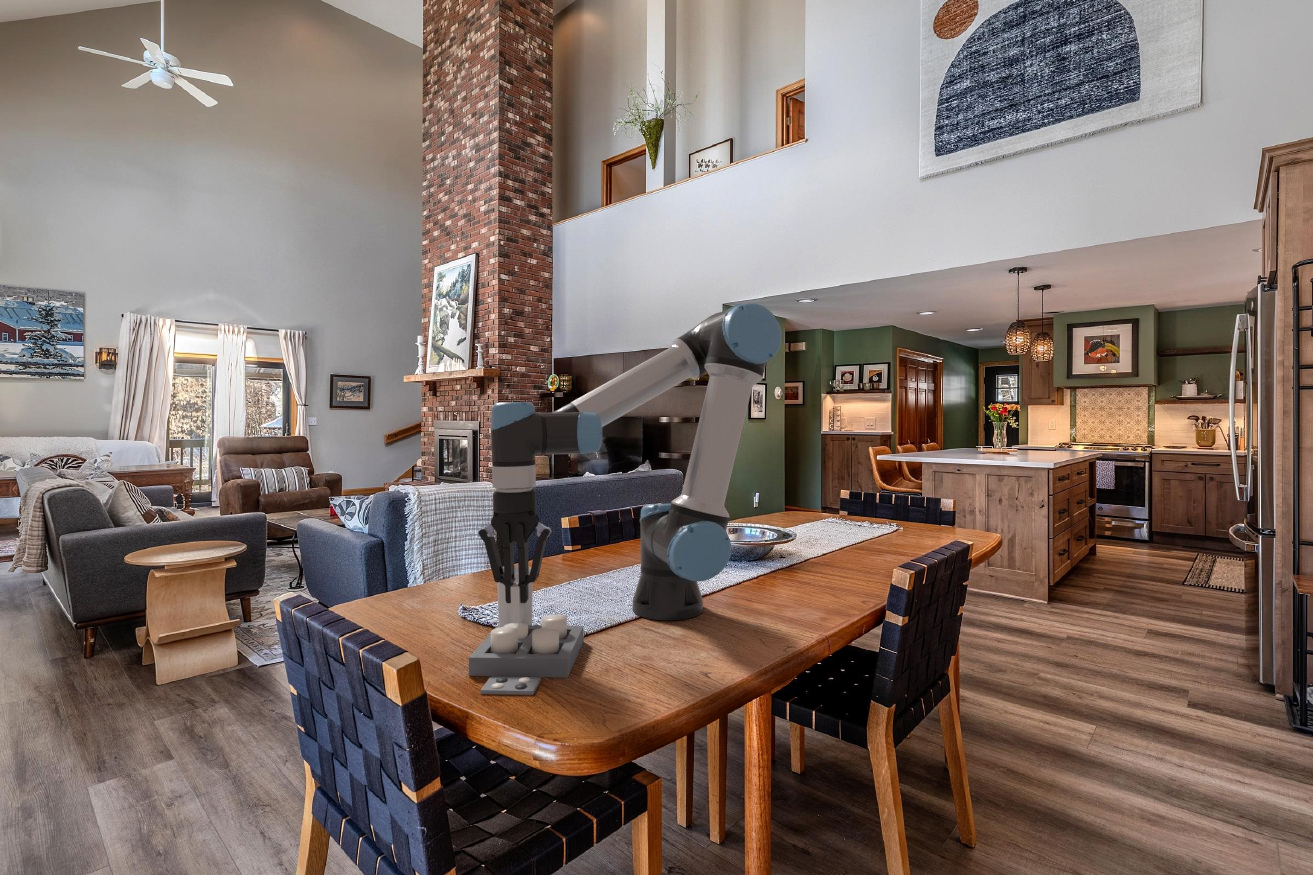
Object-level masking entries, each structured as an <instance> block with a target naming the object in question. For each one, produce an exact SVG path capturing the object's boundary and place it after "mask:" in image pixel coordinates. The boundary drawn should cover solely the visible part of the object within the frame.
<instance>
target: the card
mask: <svg viewBox="0 0 1313 875" xmlns="http://www.w3.org/2000/svg"><path fill="white" fill-rule="evenodd" d="M541 678H542V677H505V676H489V678H488V679H487V681H485V683H484V685H483V686H482V687H481V689H480V695H509V696H510V695H515V696H516V695H517V696H519V695H521V696H533V695H534V694H535V692H536V691H537V689H538V687H539V685H540V683H541V681H542V679H541Z"/></svg>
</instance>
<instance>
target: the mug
mask: <svg viewBox="0 0 1313 875" xmlns="http://www.w3.org/2000/svg"><path fill="white" fill-rule="evenodd" d="M502 567H503V571H504V566H502ZM530 571H531V566H529V575H530ZM514 573H515V578H516V579H515V581H514V583H519V571H518V565H514ZM496 584H497V611H498V612H497V613H498V625H507V624H510V623H511V603H506V600H505V585H504V584H502V583H500V582H498V583H497V582H496ZM533 584H534V582H531V583H529V584H528V591H529V592H528V593H529V599H528V601H527V602H526V603H523V610H524V619H523V620H522V621H521V622H520V623H525V624H527V625H533Z"/></svg>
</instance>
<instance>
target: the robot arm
mask: <svg viewBox="0 0 1313 875" xmlns="http://www.w3.org/2000/svg"><path fill="white" fill-rule="evenodd" d="M781 344H782V329H781V325H780V323H779V321H778V319H777V318H776V316H775V314H774V313H773V312H772V311H771V310H770V309H768V308H767V307H765V306H764V305H762V304H759V303H754V302H747V303H739V304H734V305H733V306H731V307H730V308H728V309H726V310H722V311H720V312H717V313H714V314H712V315H709V316H708V317H706V319H704V320H702V321H701V322H699V323H698V324H697V325H695V326H694V327H692V328H691V329H690V330H688V331H687V332H685V333H684V334H681V336H679V337H677V338H675V339H673V341H672V343H671V346H670V347H669V348H667V349H665V350H663V351H661V352H659V353H658V354H656V355H654V356H652V357H651V358H649V359H647V360H645V361H643V362H642V363H640V364H638V365H636V366H634V367H633V368H631V369H628V370H627V371H625V372H623V373H622V374H620V375H617V376H616V377H614V378H612V379H611V380H609V381H606V382H605V383H604V384H602V385H599V386H598V387H596V388H594V389H593V390H591V391H589V392H587V393H586V394H584V395H582V396H580V397H579V398H576V399H575V400H573V401H571V402H570V403H568V404H566V405H564V406H562V407H561V408H559V409H557V410H554V411H553V412H548V413H547V412H545V413H544V412H536V410H535V405H534V404H533V402H531V401H526V402H525V401H522V402H521V401H513V402H511V401H508V402H506V401H505V402H496V403H495V404H493V405H492V407H491V413H490V415H491V416H490V421H491V423H490V439H491V440H490V441H491V443H490V444H491V471H492V474H491V477H492V479H491V480H492V481H491V482H492V484H491V486H492V488H493V489H495V490H494V491H493V492H492V512H493V513H492V518H491V520H490V524H487V526H485V527H483V528H480V529H479V530H478V532H477V533H478V536H479V537H480V539H481V540H482V541H483V543H484V547H485V551H486V554H487V558H488V561H489V566H490V568H491V572H492V577H493V580H494V582H495V583H496V584H497V583H498V582H500V583H502V584H504V585H505V600H506V603H511V623H520V622H521V621H522V620H523V619H524V610H523V603H526V602H527V601H528V599H529V593H528V592H529V591H528V584H529V583H531V582H533V583H534V582H536V581H537V579H538V578H539V577H540V572H541V567H542V564H543V563H542V562H543V557H544V553H545V549H546V544H547V539H549V537H550V535H551V534H552V533H553V528H552V526H546V525H545V524H543V523H541V520H540V516H538V514H537V490H535V489H534V487H535V486H537V485H536V484H537V478H536V476H537V475H536V474H537V472H536V471H537V469H536V455H542V456H543V455H573V454H574V455H575V454H577V455H578V454H581V455H584V454H593V453H597V452H599V450H601V447H602V443H603V427H605V426H606V425H608V424H611V423H612V422H614V421H615V420H617V419H619V418H621V417H622V416H624V415H626V414H628V413H629V412H631V411H633V410H635V409H637V408H638V407H640V406H641V405H644V404H645V403H647V402H649V401H650V400H652V399H654V398H656V397H658V396H660V395H661V394H663V393H665V392H667V391H668V390H670V389H672V388H674V387H676V386H677V385H679V384H681V383H683V382H684V381H686V380H688V379H691V380H698V379H699V378H700V377H702V376H704V375H706V374H708V376H709V379H708V383H707V387H706V391H705V396H704V400H703V404H702V407H701V411H700V415H699V420H698V424H697V428H696V432H695V437H694V441H693V445H692V449H691V453H690V456H689V461H688V462H689V463H688V465H687V469H686V474H685V478H684V481H683V482H684V483H683V485H682V486H683V487H682V490H681V493H680V495H678V496H677V497H676V498H674V499H673V500H671V503H656V504H646V505H643V506H642V507H641V509H640V518H639V523H640V576H639V579H638V582H637V585H636V588H635V592H634V594H633V596H632V597H633V598H632V612H633V613H634V614H635V615H637V616H639V617H642V618H645V619H648V620H649V619H650V620H655V621H657V620H658V621H681V620H682V621H683V620H687V619H691V618H695V617H698V616H700V615H701V614H702V613H703V611H704V599H703V597H702V593H701V590H700V587H699V584H698V583H699V582H704V581H706V582H707V581H708V580H711V579H713V578H715V577H716V576H718V575H719V574H720V573H721V572H722V571H723V570H724V569H725V567H726V566H727V565H728V563H729V560H730V558H731V554H732V542H731V538H730V536H729V534H728V533H727V528H728V523H729V520H730V513H729V512H728V510H727V508H726V507H725V504H726V498H727V494H728V490H729V486H730V481H731V477H732V474H733V469H734V465H735V461H736V456H737V452H738V447H739V444H740V440H741V434H742V432H743V427H744V425H745V424H744V423H745V419H746V414H747V410H748V406H749V402H750V397H751V394H752V390H753V387H754V386H755V385H756V384H758V383H759V382H761V381H762V380H763V377H764V373H765V369H766V365H767V362H769V361H770V360H772V359H773V357H775V356H776V354H778V352H779V349H780V347H781ZM535 531H536V536H537V537H538V538H537V540H536V544H535V548H534V554H533V557H532V563H531V566H529V542H530V541H529V539H530V538H531V536H532V535H533V534H534V532H535ZM495 532H496V534H497V535H498V537H499V538H500V539H501V540H502V548H503V565H502V560H501V557H500V553H499V549H498V545H497V541H496V538H495V535H496V534H495ZM515 543H516V547H517V562H518V565H517V566H518V571H519V583H514V581H515V579H516V578H515V573H514V566H515ZM503 567H504V571H503ZM529 567H531V571H530V575H529Z"/></svg>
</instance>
